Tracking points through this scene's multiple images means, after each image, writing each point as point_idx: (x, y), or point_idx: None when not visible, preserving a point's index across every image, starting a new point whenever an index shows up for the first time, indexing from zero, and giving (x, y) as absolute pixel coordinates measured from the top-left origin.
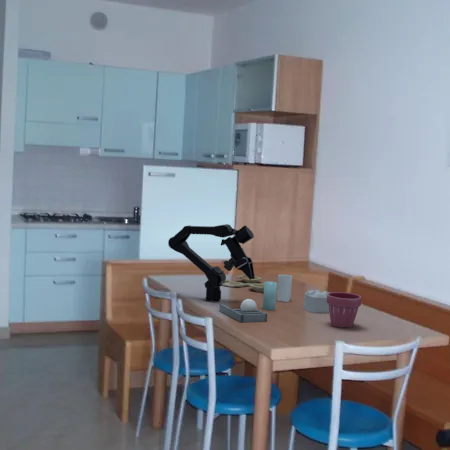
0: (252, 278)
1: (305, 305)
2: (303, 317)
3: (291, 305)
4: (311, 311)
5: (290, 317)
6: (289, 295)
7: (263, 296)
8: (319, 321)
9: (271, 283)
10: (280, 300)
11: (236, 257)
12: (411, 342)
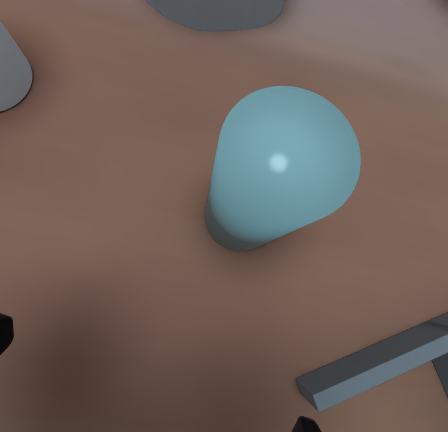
0: (5, 347)
1: (223, 11)
2: (389, 85)
3: (127, 69)
4: (275, 16)
5: (407, 145)
6: (2, 24)
7: (254, 242)
8: (441, 41)
9: (344, 153)
10: (17, 99)
11: None
12: None
